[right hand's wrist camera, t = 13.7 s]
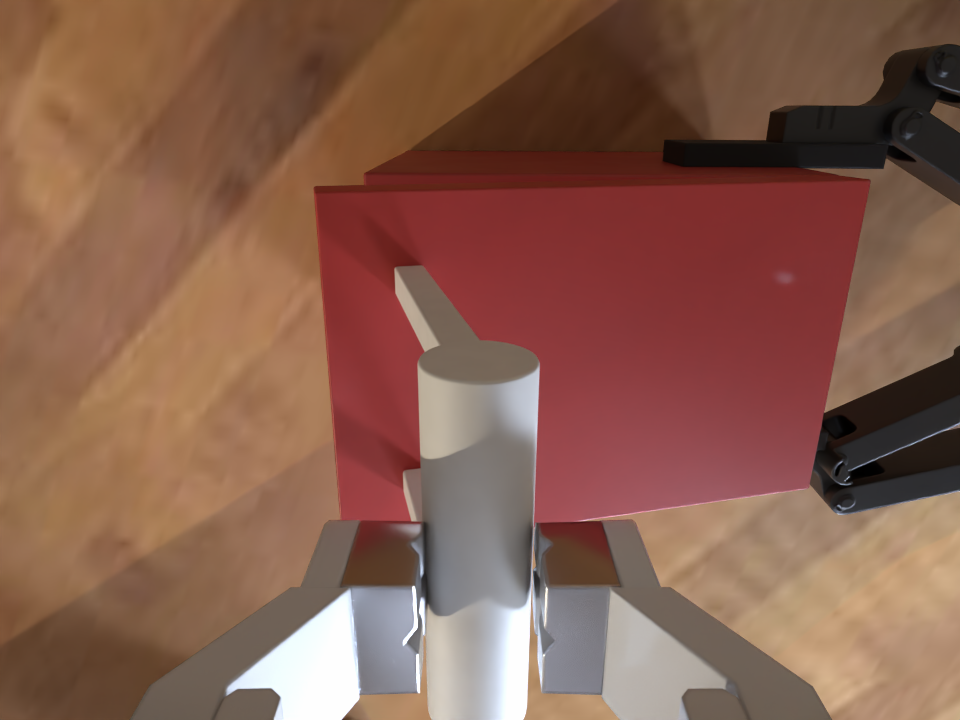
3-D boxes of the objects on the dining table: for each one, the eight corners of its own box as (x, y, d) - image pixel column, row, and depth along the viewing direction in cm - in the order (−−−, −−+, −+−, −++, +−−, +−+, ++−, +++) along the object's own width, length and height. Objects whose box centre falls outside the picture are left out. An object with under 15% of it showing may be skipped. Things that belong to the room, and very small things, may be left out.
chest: (413, 352, 33) (379, 464, 23) (406, 150, 30) (363, 172, 19) (691, 354, 33) (787, 468, 23) (716, 152, 30) (841, 174, 19)
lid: (341, 528, 19) (368, 843, 11) (313, 185, 16) (324, 267, 8) (783, 469, 22) (1059, 676, 14) (837, 175, 19) (1238, 224, 11)
